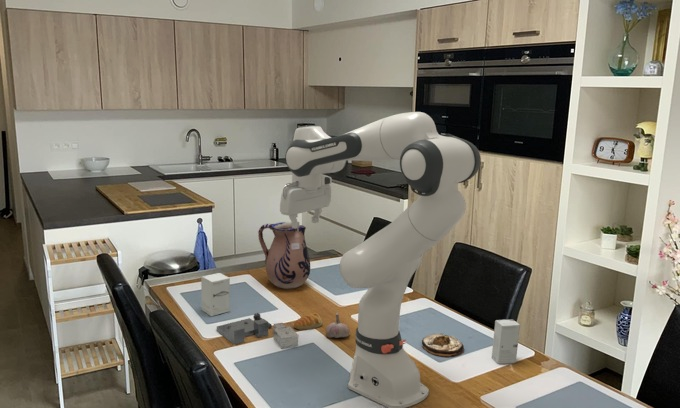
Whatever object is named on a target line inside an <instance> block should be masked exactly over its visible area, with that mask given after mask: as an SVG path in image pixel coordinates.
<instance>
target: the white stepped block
mask: <svg viewBox="0 0 680 408" xmlns="http://www.w3.org/2000/svg"><path fill="white" fill-rule="evenodd" d="M272 338H273V341H274V342H275V343H276V344H277V345H278V347H279V348H280V349H282V350H283V349H287V348H293V347H298V346H299V334H298V333H297V332H296V331H295V329H293V328H292V327H291V326H290V325H288V326H286V325H285V324H284V322H278V323H273V337H272Z"/></svg>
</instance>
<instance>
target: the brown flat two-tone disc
mask: <svg viewBox="0 0 680 408" xmlns="http://www.w3.org/2000/svg"><path fill="white" fill-rule="evenodd" d="M421 345H422V347H423V348H424V350H425V351H426V352H427V353H428V354H430V355H433V356H436V357H441V358H443V357H444V358H447V357H455V356H456V357H457V356H458V355H459V354H462V355H464V354H465V352H464V351H463V350H464V349H465V347H464V344H463V341H461V340H459V339H458V338H456V337H455V336H453V335H450V334H448V335H446V334H444V333H443V332H442V333H432V334H429V335H427V336H425V337H423V338H422V340H421ZM463 352H464V353H463Z"/></svg>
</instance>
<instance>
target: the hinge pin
mask: <svg viewBox="0 0 680 408" xmlns="http://www.w3.org/2000/svg"><path fill="white" fill-rule="evenodd" d="M253 319H254V321H257V320H261V319H263V318H262V317H261V314H260V313H259V312H256V313H254V314H253ZM271 328H273V326H272V324H271V323H270V322H268V330H269V329H271Z"/></svg>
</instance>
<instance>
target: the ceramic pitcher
mask: <svg viewBox="0 0 680 408" xmlns="http://www.w3.org/2000/svg"><path fill="white" fill-rule="evenodd" d="M306 228H307V227H306V226H305V225H300V224H299V228H296V229H295V228H292V222H291V221H282V222H276V223H264V224H262V225H261V226H260V228H259V230H258V231H257V233H258V242H259V244H260V247H261V249H262V251H263V253H264V257H265V259H264V263H265V266H266V267H265V270H266V275H267V278H268V279H269V281H270V282H271V284H273V285H274V286H276V287H277V288H280V289H284V290H292V289H296V288H299V287H301V286H302V285H303V284H304V283H305V282H307V280H308V278H309V277H310V274H311V261H310V255H309V252H308V251H309V250H308V247H307V243H306V238H305V233H306ZM266 229H269V230H271V231H272V233H273V235H274V237H273V240H272V243H271V244H270V247H269V249H268V247H267V245H266V242H265V240H264V234H263V231H264V230H266Z"/></svg>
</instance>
